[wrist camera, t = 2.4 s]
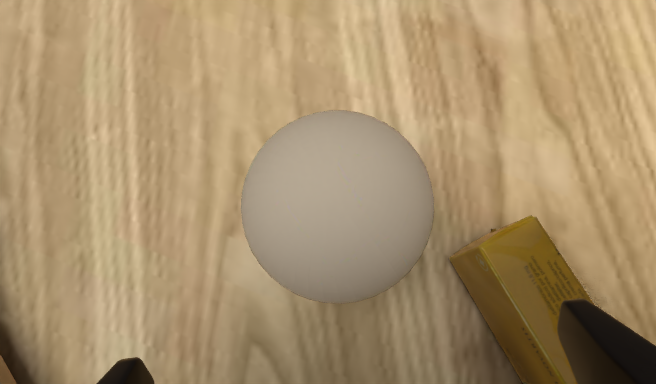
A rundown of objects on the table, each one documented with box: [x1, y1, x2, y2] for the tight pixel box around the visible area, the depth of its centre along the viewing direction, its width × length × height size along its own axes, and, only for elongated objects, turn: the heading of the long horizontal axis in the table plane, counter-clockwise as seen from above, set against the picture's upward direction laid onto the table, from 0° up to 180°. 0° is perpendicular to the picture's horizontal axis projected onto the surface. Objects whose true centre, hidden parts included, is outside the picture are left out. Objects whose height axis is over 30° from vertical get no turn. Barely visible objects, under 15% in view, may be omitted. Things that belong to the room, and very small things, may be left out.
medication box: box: [449, 215, 594, 384], centre depth 16 cm, size 12×3×4 cm, turn 28°
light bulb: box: [241, 110, 434, 303], centre depth 16 cm, size 6×6×10 cm
